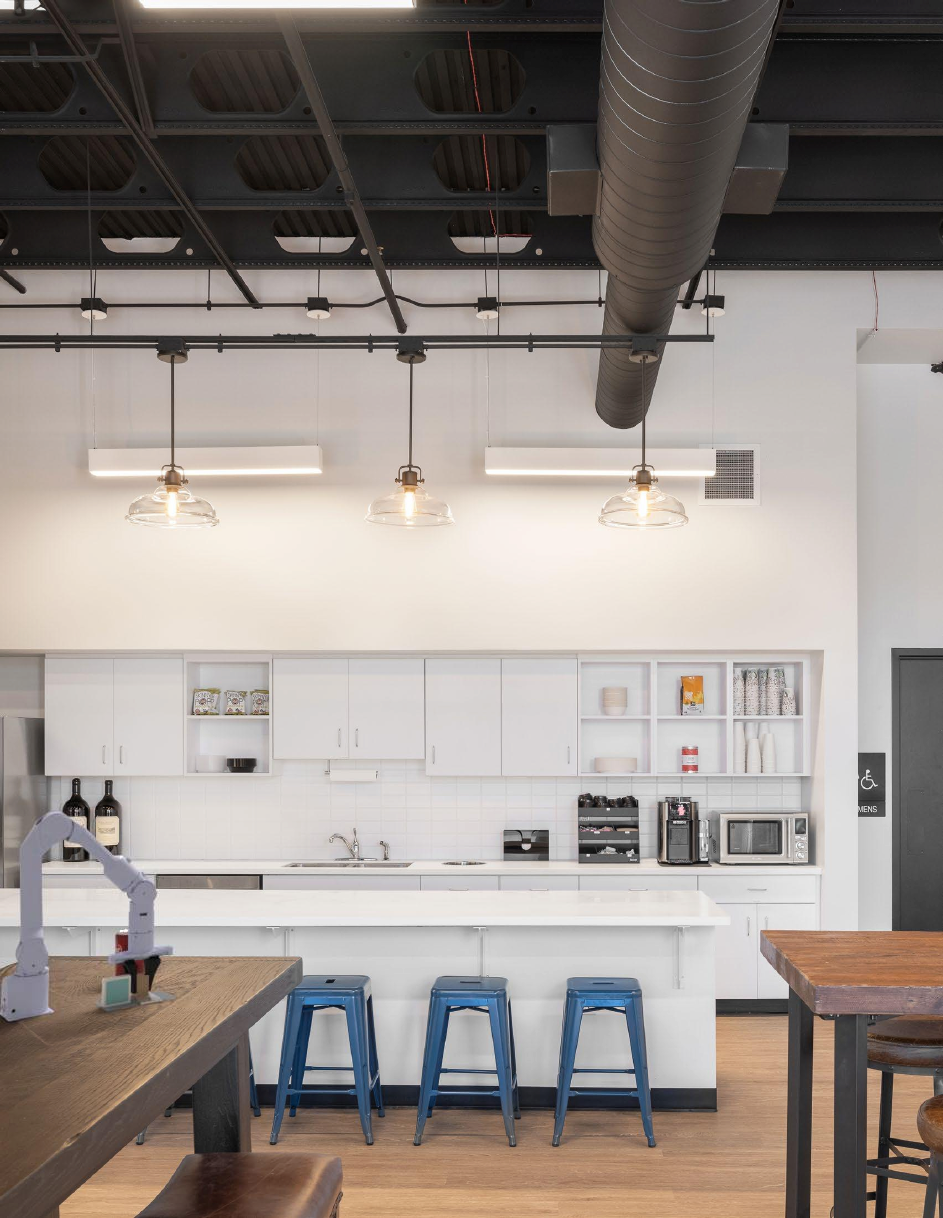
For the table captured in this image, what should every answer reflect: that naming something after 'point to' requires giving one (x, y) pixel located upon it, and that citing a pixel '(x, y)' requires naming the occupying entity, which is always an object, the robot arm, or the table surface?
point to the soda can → (122, 946)
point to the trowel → (144, 991)
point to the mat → (158, 993)
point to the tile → (116, 990)
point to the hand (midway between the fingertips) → (140, 991)
